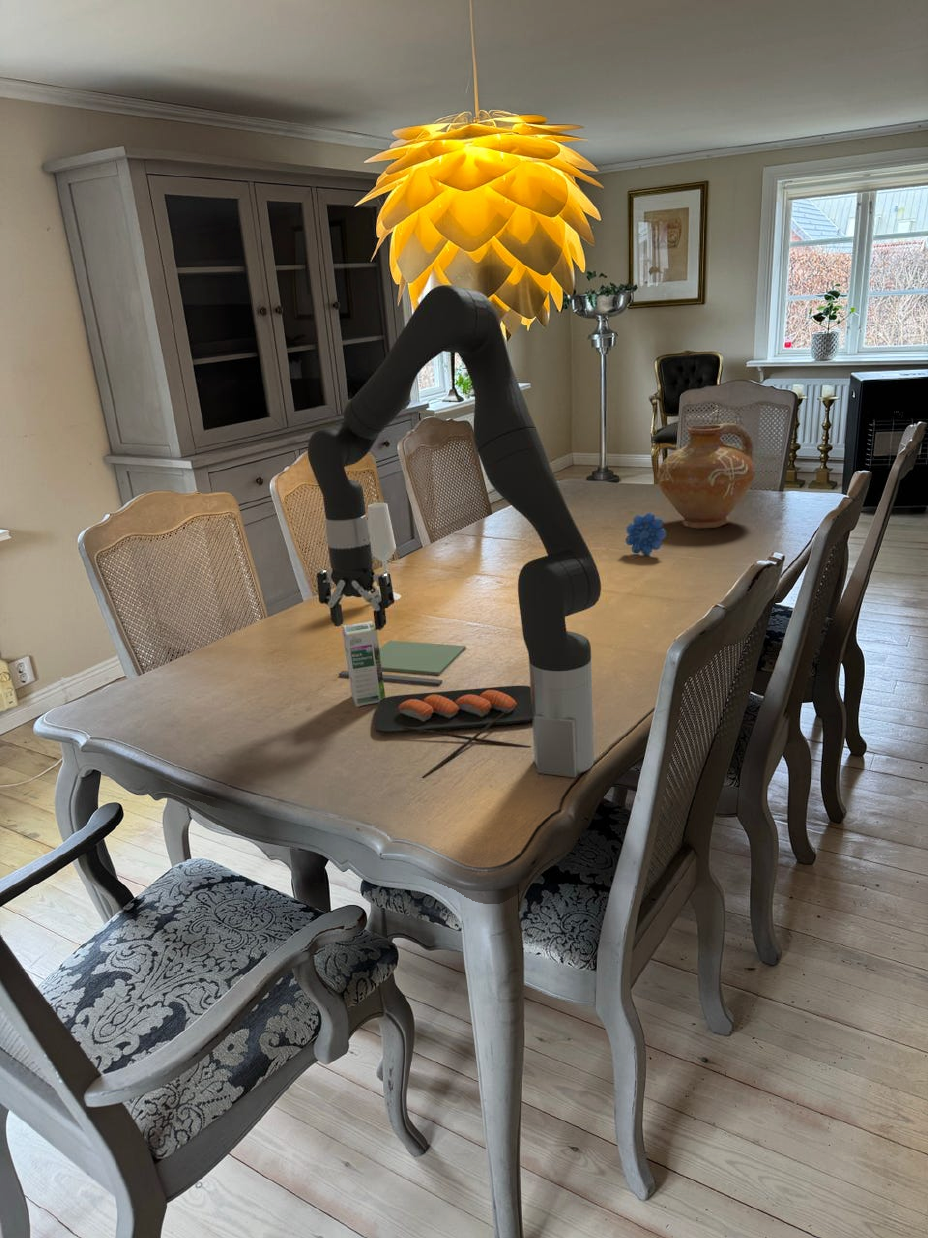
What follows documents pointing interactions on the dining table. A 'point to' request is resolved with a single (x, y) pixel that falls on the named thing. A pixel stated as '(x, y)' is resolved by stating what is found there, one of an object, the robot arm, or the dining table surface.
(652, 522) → the blue bumpy cluster
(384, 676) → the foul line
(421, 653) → the mat
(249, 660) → the dining table surface
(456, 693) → the sushi plate
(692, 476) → the jug
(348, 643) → the syrup box
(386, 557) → the champagne flute
